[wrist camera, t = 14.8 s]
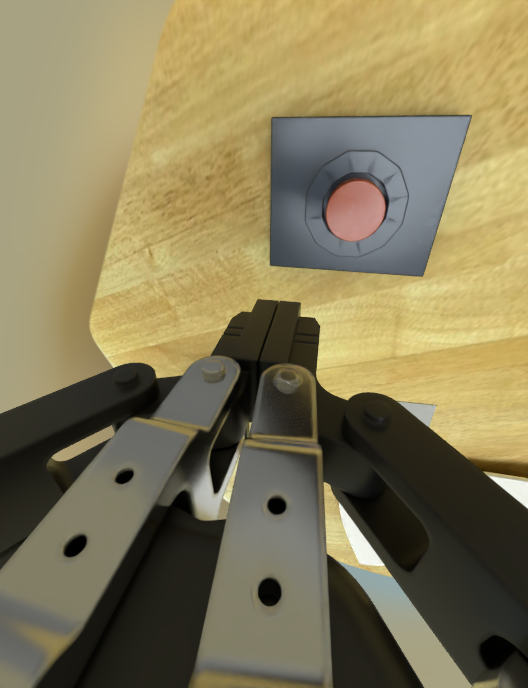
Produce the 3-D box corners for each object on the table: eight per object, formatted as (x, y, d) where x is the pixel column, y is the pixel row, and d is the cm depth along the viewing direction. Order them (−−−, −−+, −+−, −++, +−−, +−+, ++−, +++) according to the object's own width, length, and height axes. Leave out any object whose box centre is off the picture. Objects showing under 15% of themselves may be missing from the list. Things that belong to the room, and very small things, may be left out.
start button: (324, 233, 22) (322, 240, 21) (330, 176, 20) (329, 179, 19) (376, 236, 21) (378, 243, 20) (388, 177, 19) (391, 181, 18)
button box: (274, 257, 27) (265, 273, 24) (276, 118, 22) (265, 115, 19) (417, 267, 25) (428, 286, 22) (461, 116, 20) (484, 112, 16)
